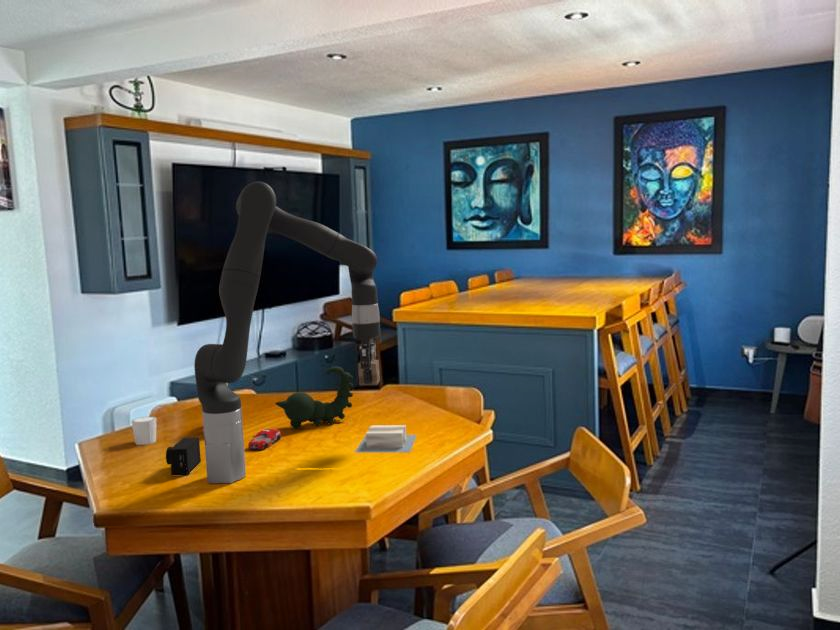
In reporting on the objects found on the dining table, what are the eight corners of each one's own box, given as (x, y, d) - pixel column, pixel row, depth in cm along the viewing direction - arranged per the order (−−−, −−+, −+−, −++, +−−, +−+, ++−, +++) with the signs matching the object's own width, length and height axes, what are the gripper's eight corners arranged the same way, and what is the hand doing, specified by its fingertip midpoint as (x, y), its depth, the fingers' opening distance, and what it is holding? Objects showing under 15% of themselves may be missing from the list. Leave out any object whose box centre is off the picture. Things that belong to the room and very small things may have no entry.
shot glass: (162, 441, 206) (160, 418, 205) (139, 447, 201) (137, 423, 200) (151, 437, 210) (149, 415, 210) (129, 442, 206) (127, 419, 205)
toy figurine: (343, 420, 228) (269, 426, 215) (345, 363, 227) (271, 366, 214) (355, 427, 220) (279, 433, 207) (357, 367, 219) (281, 370, 206)
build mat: (410, 454, 185) (410, 452, 185) (354, 454, 186) (354, 452, 186) (416, 436, 200) (416, 434, 200) (365, 437, 202) (365, 435, 202)
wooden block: (402, 447, 189) (402, 433, 188) (366, 447, 190) (365, 433, 189) (406, 438, 197) (405, 425, 196) (371, 439, 198) (371, 425, 197)
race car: (262, 452, 192) (261, 438, 192) (245, 451, 194) (244, 437, 193) (284, 438, 205) (283, 425, 204) (267, 437, 206) (267, 424, 206)
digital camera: (180, 463, 185) (178, 437, 184) (201, 462, 185) (199, 436, 184) (166, 476, 175) (164, 449, 174) (188, 475, 175) (186, 448, 174)
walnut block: (377, 384, 190) (376, 363, 189) (359, 385, 190) (357, 364, 190) (379, 380, 195) (378, 359, 194) (362, 381, 195) (360, 360, 195)
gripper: (375, 323, 183) (379, 386, 185) (383, 316, 197) (386, 375, 199) (347, 324, 184) (351, 387, 186) (356, 317, 198) (360, 375, 200)
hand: (369, 380), depth 193 cm, fingers closed on walnut block, 5 cm apart
